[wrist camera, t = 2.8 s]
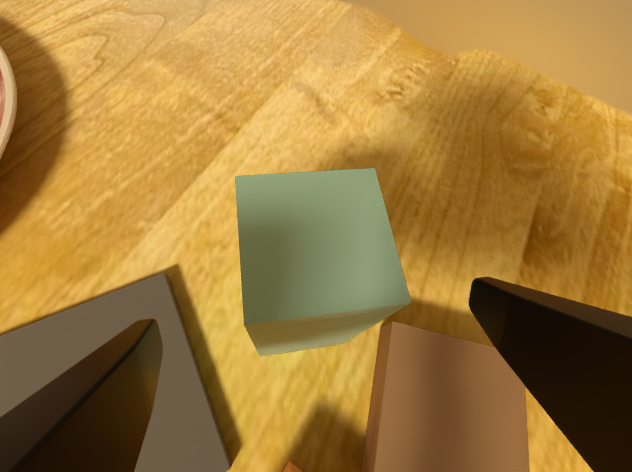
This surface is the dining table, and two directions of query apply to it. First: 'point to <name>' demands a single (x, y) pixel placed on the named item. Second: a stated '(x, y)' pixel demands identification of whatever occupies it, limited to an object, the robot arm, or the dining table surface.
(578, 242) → the dining table surface
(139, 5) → the dining table surface
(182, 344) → the coaster
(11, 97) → the dinner plate
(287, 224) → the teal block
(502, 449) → the walnut tile
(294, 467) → the terracotta block
